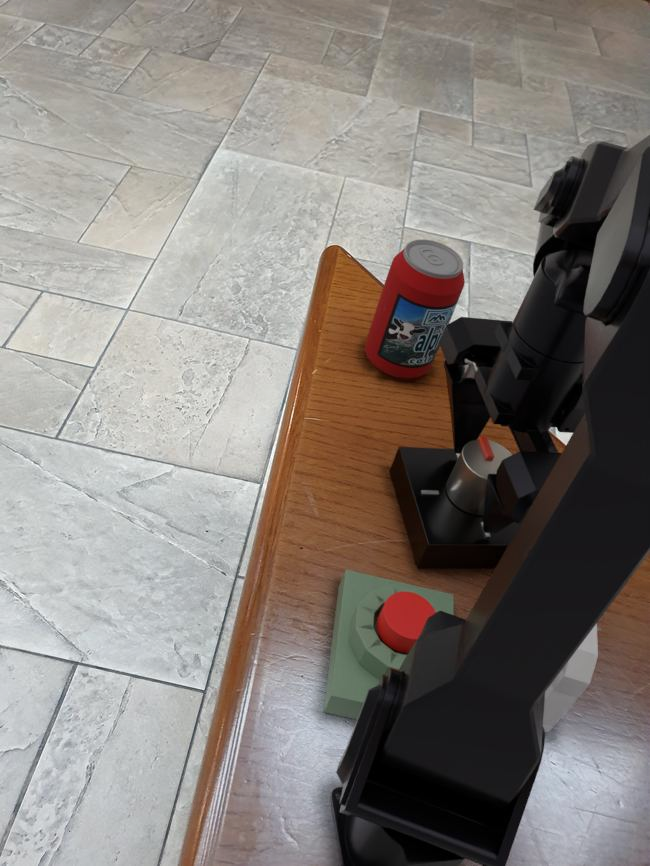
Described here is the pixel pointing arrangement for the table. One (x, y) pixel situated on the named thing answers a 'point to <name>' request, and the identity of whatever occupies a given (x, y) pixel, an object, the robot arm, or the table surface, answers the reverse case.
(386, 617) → the light button
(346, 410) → the table surface
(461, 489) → the dimmer knob
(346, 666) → the switch block
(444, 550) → the dimmer panel
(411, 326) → the beverage can
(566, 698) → the light switch
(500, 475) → the robot arm
